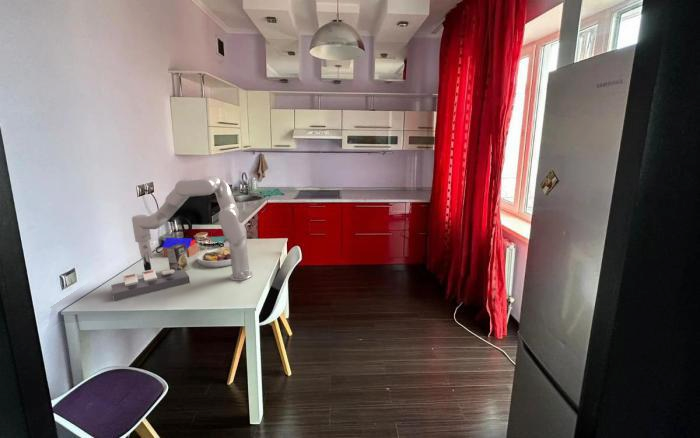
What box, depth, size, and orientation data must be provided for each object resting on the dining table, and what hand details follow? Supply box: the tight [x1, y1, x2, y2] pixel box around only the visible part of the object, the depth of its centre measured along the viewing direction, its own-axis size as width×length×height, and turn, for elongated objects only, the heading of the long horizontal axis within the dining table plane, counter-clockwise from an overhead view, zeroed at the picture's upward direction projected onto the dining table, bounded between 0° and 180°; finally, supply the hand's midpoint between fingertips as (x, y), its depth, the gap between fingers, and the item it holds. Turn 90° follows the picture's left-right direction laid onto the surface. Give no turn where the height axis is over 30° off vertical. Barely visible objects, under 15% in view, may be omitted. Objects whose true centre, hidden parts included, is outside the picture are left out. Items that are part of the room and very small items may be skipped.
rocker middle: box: [141, 269, 157, 282], centre depth 202 cm, size 8×6×2 cm
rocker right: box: [160, 269, 175, 276], centre depth 207 cm, size 8×6×2 cm
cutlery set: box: [209, 235, 227, 250], centre depth 280 cm, size 20×30×2 cm, turn 6°
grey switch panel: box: [111, 269, 191, 302], centre depth 201 cm, size 14×36×4 cm, turn 125°
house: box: [161, 237, 200, 258], centre depth 257 cm, size 12×20×12 cm, turn 80°
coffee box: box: [167, 244, 190, 272], centre depth 222 cm, size 9×6×16 cm
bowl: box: [197, 246, 231, 268], centre depth 241 cm, size 30×30×8 cm
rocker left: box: [122, 273, 139, 286], centre depth 197 cm, size 8×6×2 cm
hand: (147, 269), depth 204 cm, fingers closed
